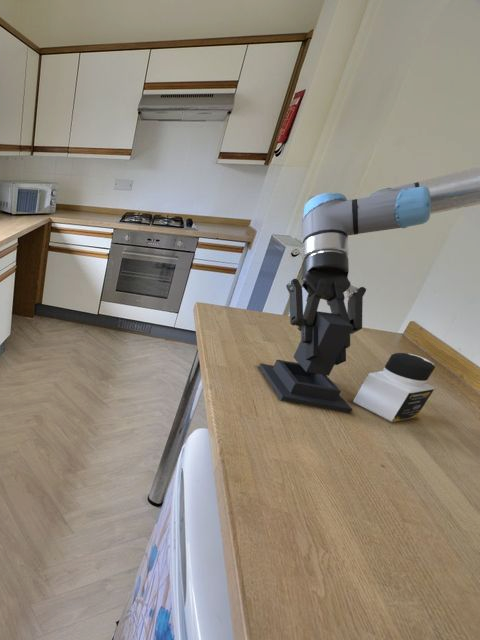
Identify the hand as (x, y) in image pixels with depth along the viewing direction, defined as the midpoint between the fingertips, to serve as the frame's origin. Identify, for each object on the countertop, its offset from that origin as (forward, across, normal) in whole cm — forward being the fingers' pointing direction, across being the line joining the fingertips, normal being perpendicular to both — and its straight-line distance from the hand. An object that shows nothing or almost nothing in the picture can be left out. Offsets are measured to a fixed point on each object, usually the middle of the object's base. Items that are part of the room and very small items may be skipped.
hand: (325, 360), depth 82 cm
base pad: (+4, 0, -9) cm, 10 cm away
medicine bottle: (+6, -13, -7) cm, 16 cm away
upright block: (0, 0, -5) cm, 5 cm away
